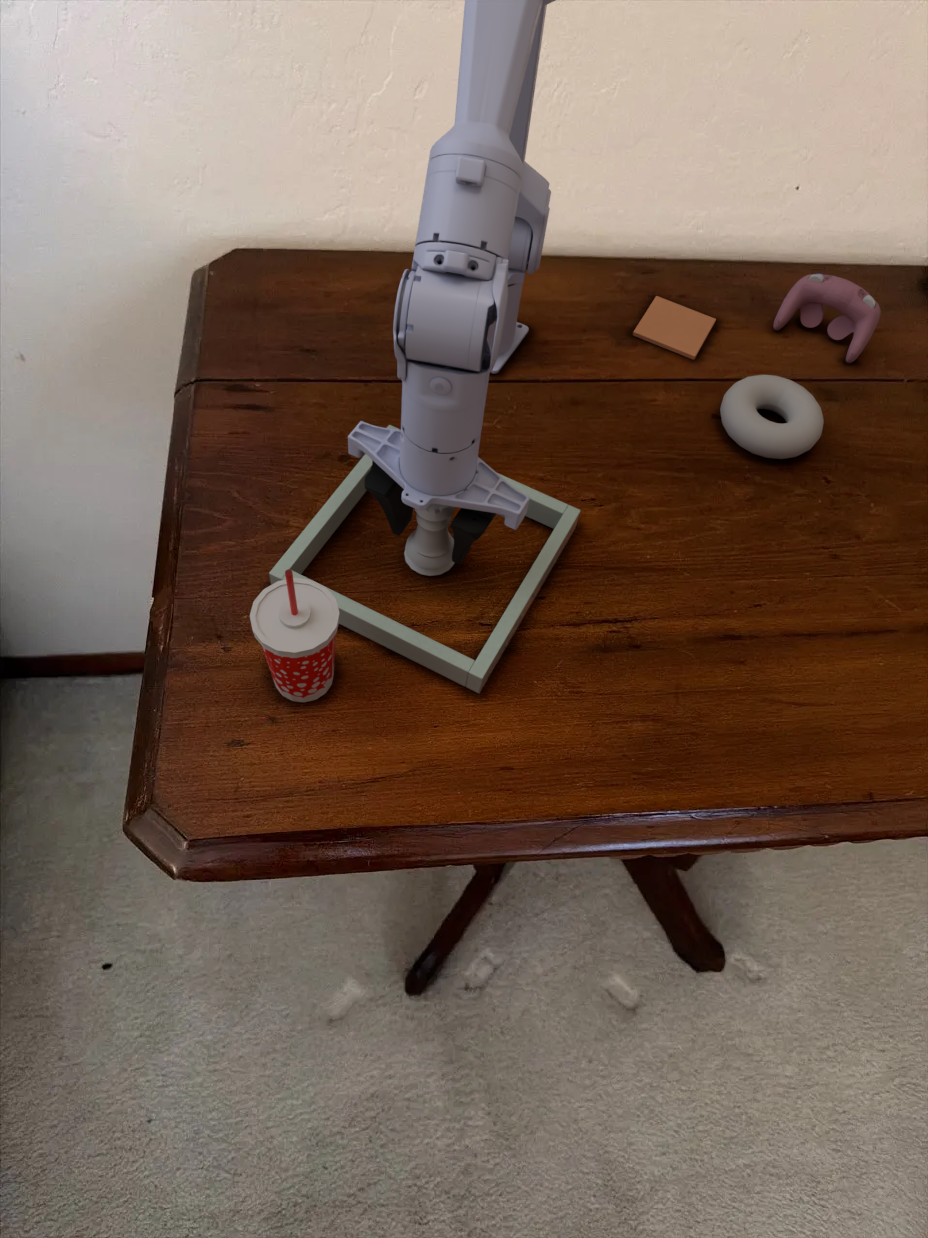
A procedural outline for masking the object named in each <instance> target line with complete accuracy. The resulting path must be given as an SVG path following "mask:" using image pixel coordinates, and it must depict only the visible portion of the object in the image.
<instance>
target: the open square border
mask: <svg viewBox="0 0 928 1238" xmlns="http://www.w3.org/2000/svg"><path fill="white" fill-rule="evenodd" d="M386 428H388V429H395V430H401V428H398V427H396V426H394V425H392V424H388V426H386ZM371 466H372V459H371V458H370V457H369V456H368V455H366V454H364V455H363V456H362V457H361V458H360V459H359V461H358V462H357V463H356V465H355V466H354V467H353V468H352V470H351V471H350V472H349V473H348V475H347V476H346V477H345V479H344V480H343V481H342V482H341V483H340V484H339V486H338V487H337V488H336V489H335V491H334V492H333V493H332V494H331V495H330V497H329V498H328V499H327V501H325V503H324V505H322V506H321V508H320V509H319V510H318V512H317V513H316V514H315V515H314V516H313V518H312V519H311V520H310V522H308V524H307V525H306V526H305V528H304V529H303V530H302V531H301V533H300V534H298V536H297V538H296V539H295V540H294V541H293V542H292V544H290V546H289V548H287V551H285V553H284V554H283V555H282V556H281V558H280V559H279V560H278V561H277V562H276V563H275V565H274V566H273V567H272V568H271V570H270V571H269V572H268V575H269V576H268V577H269V581H270V585H272V584H274V583H276V582H277V581H281V580H286V576H285V571H286V570H288V569H289V570H292V573H293V578H300V579H308V580H312V579H311V578H308V577H307V576H304V575H302V574H303V573H304V571H305V570H306V569H307V568H308V566H309V565H310V564H311V562H312V561H313V560H314V558H315V557H316V556H317V555H318V553H319V552H320V551H321V550H322V548H323V547H324V545H325V544H326V543H328V541H329V539H331V537H332V535H333V534H334V533H335V532H336V530H338V528H339V527H340V526H341V524H342V523H343V521H344V520H345V519H346V518H347V516H348V515H349V514H350V513H351V511H352V510H353V509H354V507H355V506H356V505H357V504H358V502H359V501H360V500H361V498H362V497H363V496H364V494H365V493H366V492H368V491H367V490H366V489H365V485H364V479H365V477H366V475H367V474H368V472H369V471H370V470H371ZM496 473H497V474H499V475H500V476H501V477H502V478H503V479H504V480H506V481H507V482H508V483H509V484H510V485H512V486H513V487H514V488H515V489H517V490H518V491H520V492H522V493H524V494H526V495H528V496H530V501H529V505H528V510H527V514H526V515H525V517H527V518H529V519H531V520H533V521H536V522H537V523H540V524H542V525H545V527H546V526H547V527H549V528H551V529H553V530H552V532H551V534H550V535H549V537H548V539H547V540H546V542H545V543H544V545H543V547H542V548H541V550H540V552H539V553H538V555H537V557H536V558H535V560H534V562H533V563H532V565H531V567H530V568H529V570H528V572H527V573H526V575H525V577H524V578H523V580H522V582H521V583H520V585H519V587H518V589H517V590H516V591H515V594H514V595H513V597H512V598H511V601H510V602H509V603H508V605H507V607H506V609H505V610H504V612H503V613H502V615H501V617H500V619H499V620H498V622H497V624H496V626H495V627H494V629H493V631H492V632H491V634H490V636H489V637H488V638H487V640H486V642H485V643H484V645H483V647H482V649H481V651H480V652H479V654H478V655H477V657H476V659H475V660H474V659H473V658H471V657H469V656H467V655H464V654H463V653H460V652H459V651H457V650H455V649H453V648H450V647H449V646H446V645H444V644H442V643H440V642H438V641H436V640H434V639H433V638H431V637H429V636H427V635H424V634H422V633H421V632H418V631H416V630H414V629H412V628H410V627H409V626H406V625H404V624H402V623H400V622H398V621H395V620H394V619H392V618H390V617H388V616H386V615H384V614H381V613H379V612H378V611H376V610H374V609H372V608H369V607H368V606H366V605H363V604H361V603H359V602H358V601H355V600H353V599H351V598H349V597H347V596H345V595H343V594H341V593H339V592H337V591H335V590H333V589H330V588H329V587H328V586H325V587H326V588H327V589H328V590H329V591H330V592H331V594H332V595H333V596H334V597H335V598H336V601H337V605H338V609H339V612H340V615H339V624H338V625H341V626H343V627H345V628H347V629H348V630H351V631H352V632H354V633H357V634H359V635H360V636H362V637H365V638H366V639H369V640H371V641H373V642H375V643H376V644H379V645H381V646H383V647H385V648H387V649H389V650H391V651H392V652H395V653H397V654H399V655H401V656H403V657H405V658H407V659H409V660H410V661H413V662H415V663H417V664H419V665H421V666H423V667H425V668H426V669H428V670H431V671H433V672H435V673H437V674H439V675H440V676H443V677H445V678H447V679H449V680H451V681H452V682H454V683H456V684H458V685H461V686H463V687H466V688H467V689H468V690H470V691H473V692H475V693H477V694H480V693H481V691H482V690H483V688H484V686H485V684H486V683H487V681H488V680H489V678H490V677H491V674H492V673H493V670H494V669H495V668H496V666H497V664H498V662H499V661H500V659H501V657H502V656H503V654H504V652H505V650H506V648H507V647H508V645H509V644H510V642H511V640H512V638H513V637H514V635H515V633H516V632H517V630H518V628H519V626H520V624H521V623H522V621H523V620H524V617H525V616H526V614H527V613H528V611H529V609H530V607H531V605H532V604H533V602H534V600H535V598H536V597H537V595H538V593H539V591H540V590H541V588H542V586H543V585H544V583H545V581H546V579H547V578H548V576H549V575H550V573H551V571H552V569H553V568H554V566H555V564H556V562H557V561H558V559H559V557H560V555H561V554H562V552H563V550H564V549H565V547H566V545H567V544H568V542H569V540H570V539H571V537H572V535H573V533H574V531H575V530H576V527H577V524H578V521H579V518H580V514H581V512H582V511H581V509H580V508H577V507H575V506H572V505H571V504H568V503H566V502H564V501H561V500H558V499H557V498H554V497H552V496H550V495H548V494H546V493H543V492H541V491H540V490H537V489H534V488H533V487H530V486H528V485H525V484H523V483H521V482H519V481H517V480H514V479H512V478H510V477H507V476H505V475H503V474H501V473H498V472H496Z"/></svg>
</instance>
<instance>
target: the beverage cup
mask: <svg viewBox="0 0 928 1238" xmlns="http://www.w3.org/2000/svg"><path fill="white" fill-rule="evenodd" d="M285 576H286V580H281V581H277V582H276V583H274V584H272V585H271V584H270V585H269V586H267V587H265V588H263V589H262V591H261V592H260V593H259V594H258V595H257V597H256V598H255V599H254V600H253V602H252V606H251V608H250V613H249V619H250V625H251V629H252V633H253V636H254V638H255V639H256V641H258V643H259V644H260V646H261V649H262V652H263V654H264V657H265V660H266V663H267V666H268V670H269V671H270V672H269V673H270V674H271V677H272V681H273V683H274V687H275V688H276V690H277V691H278V692H279V693H280V694H281V696H282V697H284V698H286V699H287V700H290V701H292V702H298V703H307V702H308V703H309V702H312V701H316V700H318V699H320V697H322V696H324V695H325V694H327V692H328V691H329V689H330V688H331V686H332V685H333V681H334V676H335V657H336V655H335V653H336V634H337V633H338V628H339V625H340V624H339V615H340V612H339V609H338V605H337V601H336V598H335V597H334V596H333V595H332V594H331V592H330V591H329V590H328V589H327V588H328V587H327V586H325V585H323V584H321V583H318V582H316V581H314V580H313V579H311V580H308V579H300V578H293V573H292V570H289V569H288V570H286V571H285ZM326 587H327V588H326Z"/></svg>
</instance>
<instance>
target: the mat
mask: <svg viewBox="0 0 928 1238" xmlns="http://www.w3.org/2000/svg"><path fill="white" fill-rule="evenodd" d="M716 320H717V318H715V317H712V316H709V315H707V314H704V313H702V312H700V311H697V310H694V309H692V308H689V307H687V306H684V305H682V304H679V303H676V302H674V301H671V300H668V299H666V298H663V297H661V296H658V295H656V296H655V297H654V299H653V300H652V302H651V303H650V305H649V306H648V308H647V309H646V312H645V313H644V314H643V315H642V318H641V319H640V321H639V322H638V324H637V325H636V327H635V329H634V330H633V332H632V336H633V337H636V338H638V339H641V340H643V341H646V342H649V343H650V344H653V345H655V346H658V347H661V348H663V349H665V350H667V351H670V352H673V353H675V354H678V355H680V356H683V357H685V358H687V359H690V360H692V361H695V359H696V357H697V355H698V353H699V352H700V350H701V348H702V347H703V345H704V343H705V341H706V340H707V338H708V335H709V334H710V333H711V330H712V329H713V327H714V325H715V323H716Z"/></svg>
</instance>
